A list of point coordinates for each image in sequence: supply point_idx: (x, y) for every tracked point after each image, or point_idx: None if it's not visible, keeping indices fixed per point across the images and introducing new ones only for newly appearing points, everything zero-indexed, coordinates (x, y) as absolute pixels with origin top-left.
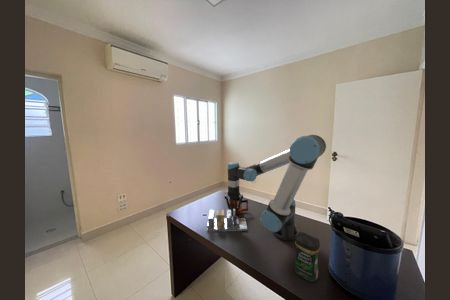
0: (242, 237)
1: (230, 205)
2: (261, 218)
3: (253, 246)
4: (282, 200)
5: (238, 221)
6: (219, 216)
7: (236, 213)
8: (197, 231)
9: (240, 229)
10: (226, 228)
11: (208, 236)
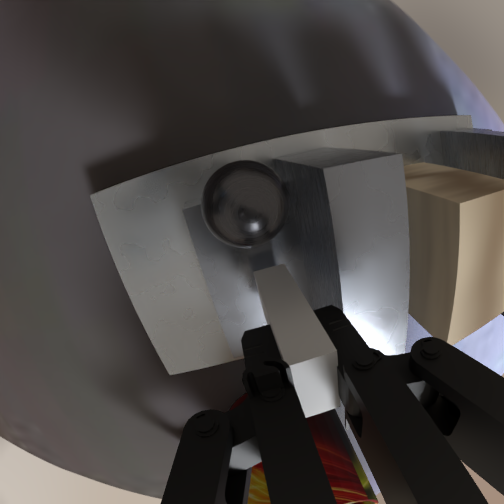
0: (128, 70)
1: (349, 454)
2: None
3: (39, 13)
4: None
5: (206, 266)
6: (484, 186)
7: (250, 343)
8: (496, 117)
9: (163, 168)
10: (329, 138)
11: (431, 53)
